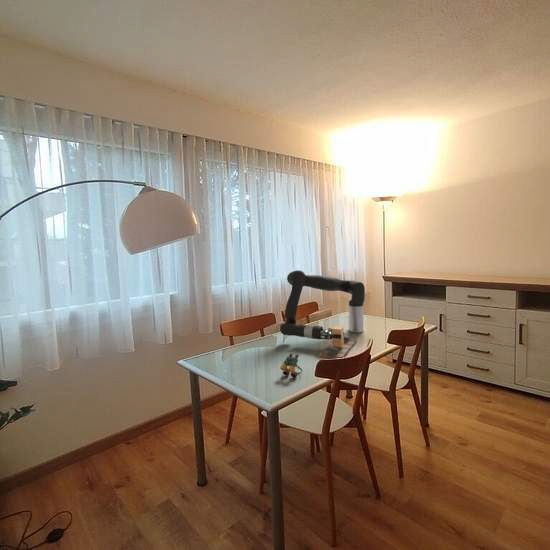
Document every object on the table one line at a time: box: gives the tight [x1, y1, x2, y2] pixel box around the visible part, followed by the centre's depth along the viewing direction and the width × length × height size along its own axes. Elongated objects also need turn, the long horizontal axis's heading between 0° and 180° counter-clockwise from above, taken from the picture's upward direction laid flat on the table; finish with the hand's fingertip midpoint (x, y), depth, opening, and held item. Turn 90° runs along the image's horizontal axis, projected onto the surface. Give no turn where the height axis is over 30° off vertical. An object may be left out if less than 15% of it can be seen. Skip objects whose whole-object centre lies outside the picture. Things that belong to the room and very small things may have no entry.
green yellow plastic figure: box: [279, 352, 303, 378], centre depth 150 cm, size 9×9×10 cm
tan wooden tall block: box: [331, 325, 345, 347], centre depth 179 cm, size 5×5×10 cm
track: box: [319, 335, 357, 359], centre depth 182 cm, size 30×12×4 cm, turn 152°
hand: (342, 335), depth 178 cm, fingers closed on tan wooden tall block, 5 cm apart
